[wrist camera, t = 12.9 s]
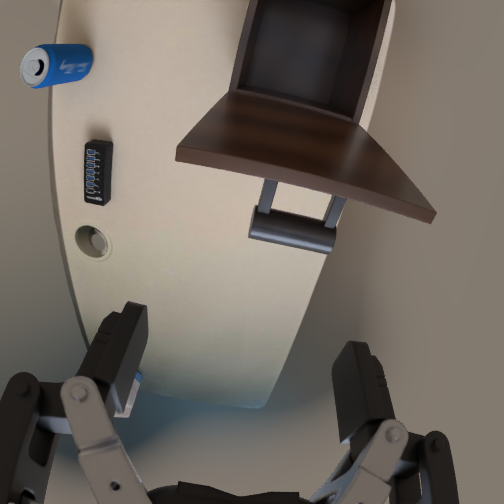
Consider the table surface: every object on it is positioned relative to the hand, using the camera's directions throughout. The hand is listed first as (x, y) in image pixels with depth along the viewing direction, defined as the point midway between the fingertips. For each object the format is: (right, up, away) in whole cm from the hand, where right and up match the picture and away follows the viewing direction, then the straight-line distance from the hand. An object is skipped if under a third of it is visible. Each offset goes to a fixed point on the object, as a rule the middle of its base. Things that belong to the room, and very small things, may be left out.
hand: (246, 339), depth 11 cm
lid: (+4, +12, +9) cm, 16 cm away
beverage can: (-28, +34, +24) cm, 50 cm away
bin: (+7, +32, +24) cm, 40 cm away
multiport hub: (-26, +17, +35) cm, 47 cm away
